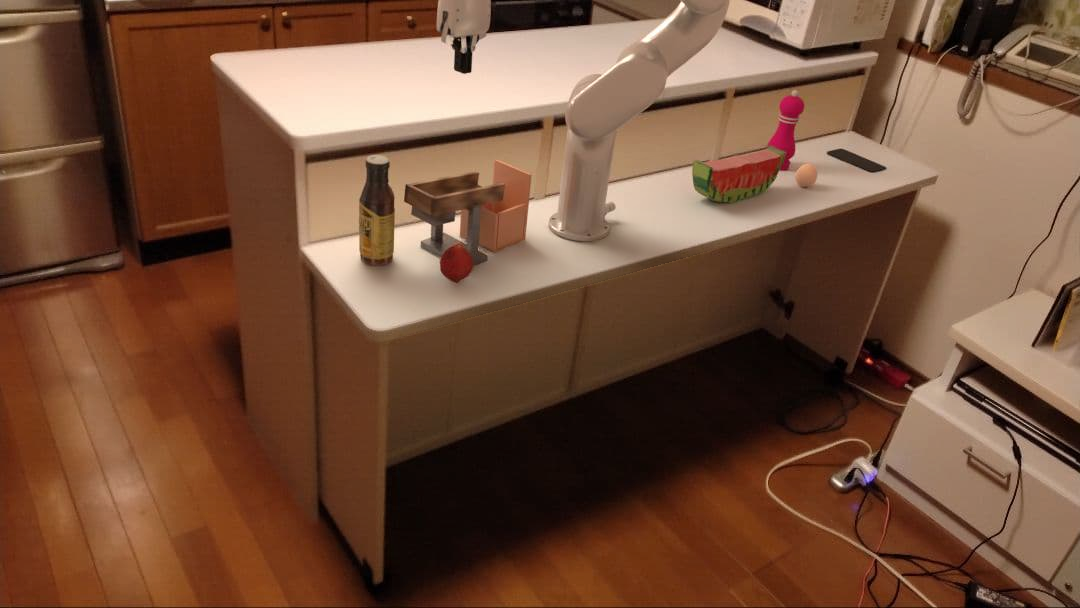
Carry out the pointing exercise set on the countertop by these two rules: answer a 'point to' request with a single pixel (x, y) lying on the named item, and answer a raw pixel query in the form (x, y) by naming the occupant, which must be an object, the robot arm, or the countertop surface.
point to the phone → (856, 160)
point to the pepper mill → (787, 126)
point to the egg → (806, 175)
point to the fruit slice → (737, 175)
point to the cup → (503, 210)
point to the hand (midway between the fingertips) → (462, 71)
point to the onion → (456, 263)
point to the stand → (444, 241)
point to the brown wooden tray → (449, 196)
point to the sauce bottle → (376, 214)
